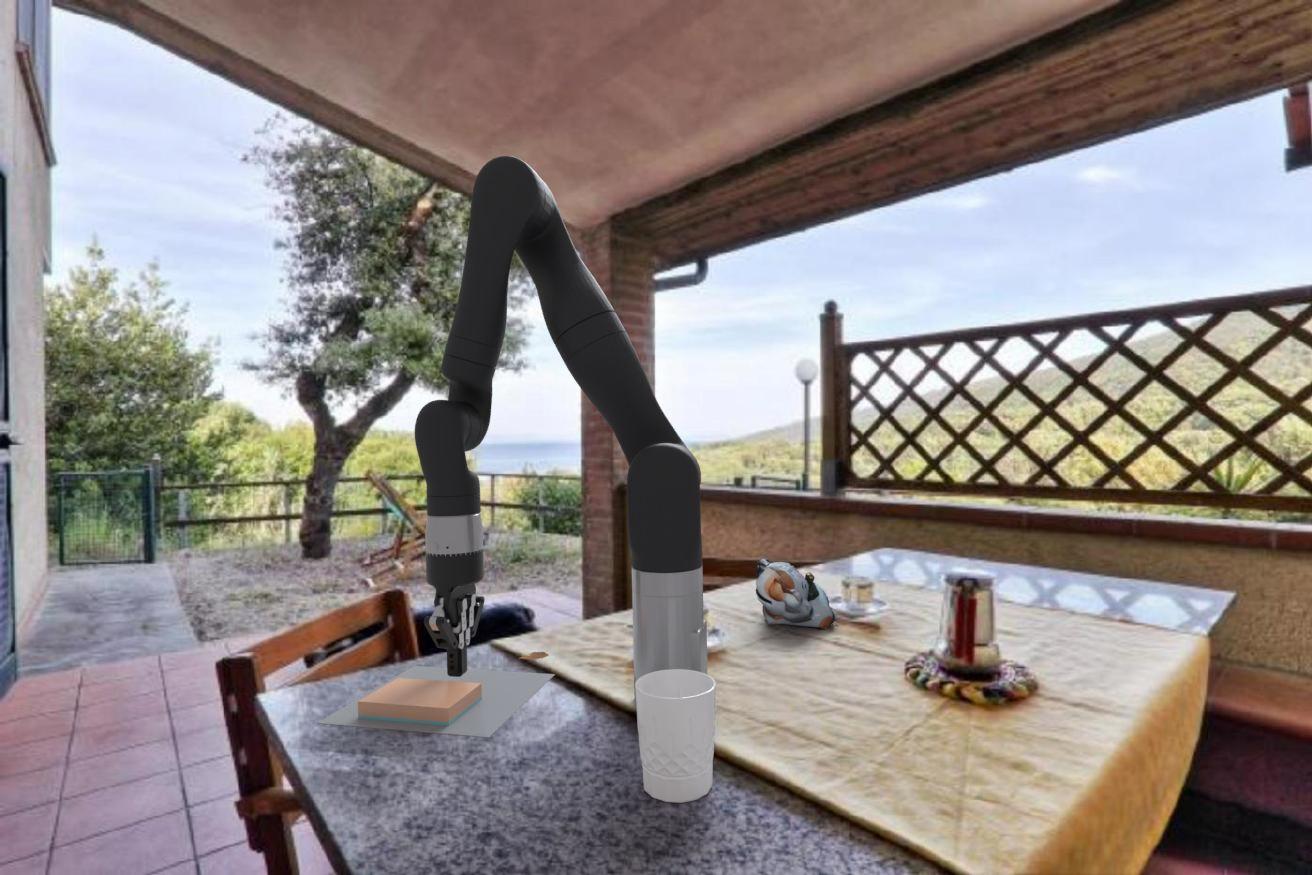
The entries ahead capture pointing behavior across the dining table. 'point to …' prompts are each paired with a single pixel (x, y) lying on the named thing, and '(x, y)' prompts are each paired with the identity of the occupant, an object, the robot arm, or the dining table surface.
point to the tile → (420, 701)
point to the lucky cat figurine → (792, 596)
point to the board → (482, 720)
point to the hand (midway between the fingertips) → (457, 674)
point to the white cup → (676, 733)
